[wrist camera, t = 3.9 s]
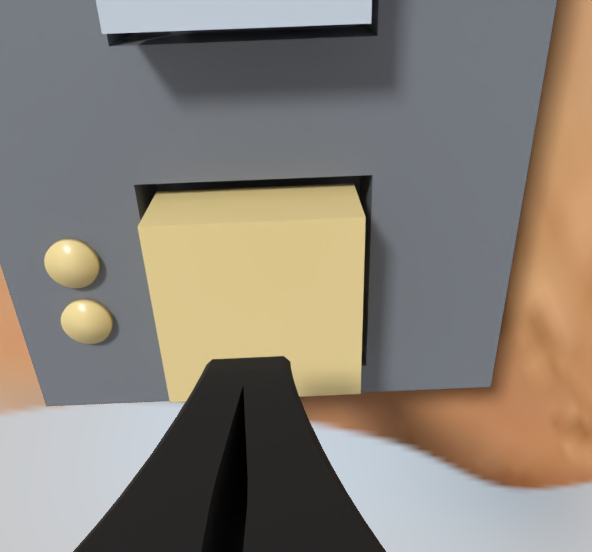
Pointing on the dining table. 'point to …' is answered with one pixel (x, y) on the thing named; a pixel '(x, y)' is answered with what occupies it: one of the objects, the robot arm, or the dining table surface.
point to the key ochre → (258, 281)
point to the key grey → (226, 14)
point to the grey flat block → (267, 172)
